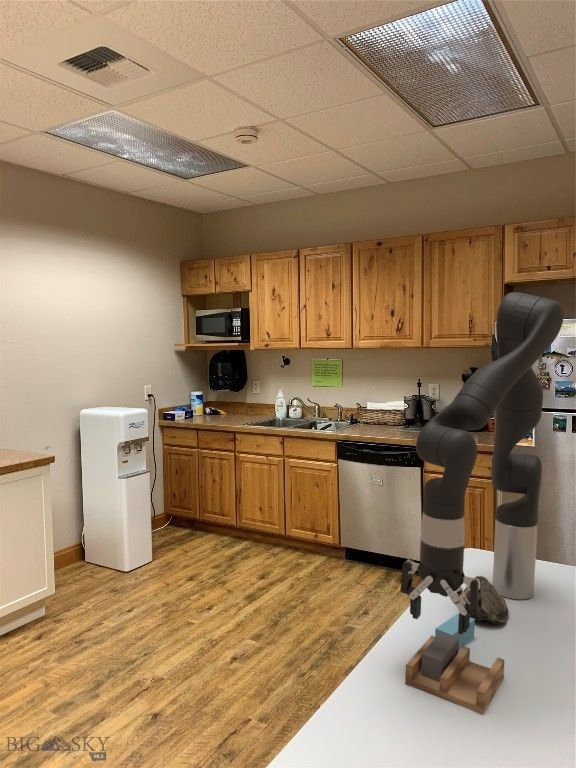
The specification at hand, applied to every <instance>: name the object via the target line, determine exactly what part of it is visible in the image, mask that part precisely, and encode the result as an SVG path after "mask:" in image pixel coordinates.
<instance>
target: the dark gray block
mask: <svg viewBox="0 0 576 768" xmlns="http://www.w3.org/2000/svg"><path fill="white" fill-rule="evenodd" d="M459 651H460V648H459V638H456V637H453V636H450V635H447V634H444V633H441V632H440V633H439V634H438V636H437V637H436V638H435V639H434V640H433V641H432V643H431V644H430V645H429V646H428V647H427V648H426V650H425V651H424V652H423V653H422V665H421V675H422V676H424V677H427V678H430V679H432V680H435V681H438V682H440V677H441V675H442V674H443V673H444V671H445V670H446V669H447V667H448V666H449V665H450V663H451V662H452V661H453V659H454V658H455V657H456V655H457V654H458V653H459Z"/></svg>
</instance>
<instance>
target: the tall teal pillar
mask: <svg viewBox="0 0 576 768" xmlns="http://www.w3.org/2000/svg"><path fill="white" fill-rule="evenodd" d="M459 614H460V612H458V613H456V614H455V615H454V616H452V617H451V618H449V619H447V620H446V621H444V622H442V623H441V624H440V625H439V626H436V627H435V630H434V631H435V633H434V637H437V636H438V634H439V633H440V632H441V633H444V634H447V635H450V636H453V637H456V638H459V649H461V648H462V647H463V646H465V644H467V643H469V642H470V641H471V640H472V639H474V638H475V629H476V628H475V627H476V626H475V624H476V620H475V619H473V618H470V626H469V628H468V630H467V631H466V632H464V633H463V635H462V634H459V633H458V622H459Z"/></svg>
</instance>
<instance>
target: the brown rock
mask: <svg viewBox="0 0 576 768" xmlns="http://www.w3.org/2000/svg"><path fill="white" fill-rule="evenodd" d="M477 576H478V577H480V578H481V580H482V609H481V610H480V611H479V612H478V614H477V615H473V614H470V618H473V619H475V621H487V622H490V623H492V624H493V625H496V626H498V625H502V624H504V623H506V622H507V619H508V618H509V614H510V613H509V608H508V605H507V602H506V600H505V597H504V596H501V595H499V594H498V593H497V591H496V589H495V588H494V586H493V585H492V583H491V582H490V581H489V579H488V578H486V577H485V576H483V575H477ZM463 590H464V592H465V594H466V598H467V600H468V601H469V603H470V591H469V590H468V589H467V586H465V588H464V589H463Z"/></svg>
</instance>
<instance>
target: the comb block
mask: <svg viewBox="0 0 576 768" xmlns="http://www.w3.org/2000/svg"><path fill="white" fill-rule="evenodd" d="M435 638H436V637H435V635H430V637H429V638H428V639H427V640H426V641H425V643H424V644H423V645H421V647H420V648H418V650H417V651H416V652H415V653H414V655H412V657H411V658H410V659H409V661H408V662H407V663H405V672H404V673H405V677H404V678H405V680H404V682H405V683H404V684H405V685H407V686H410V687H413V688H414V689H415V688H416V689H418V690H420V691H423V692H425V693H429V695H430V694H431V695H433V696H436V697H438V698H441V699H443V700H446V701H448V702H452V703H454V704H456V705H459V706H461V707H464V708H466V709H469V710H471V711H474V712H477V713H479V714H482V715H484V713H485V712H486V710H487V708H488V707H489V705H490V703H491V701H492V700H493V697H494V696H495V694H496V693H497V691H498V689H499V688H500V686H501V683H502V682H503V680H504V676H505V659H504V658H501V657H496V659H495V661H494V662H493V664H492V665H491V667H487V666H485V665H482V664H480V663H476V662H473V661H471V660H470V657H471V656H470V654H471V653H470V652H471V648H470V647H467V646H465V645H463V646H462V647H461V648H460V649H459V651H458V654H457V655H456V657H455V658H454V659H453V661H452V662H451V663H450V665H449V666H448V667H447V669H446V670H445V671H444V673H443V674H442V675H441V677H440V682H438V681H435V680H432V679H430V678H427V677H424V676H422V675H421V665H422V653H423V652H424V651H425V650H426V648H427V647H428V646H429V645H430V644H431V643H432V641H433V640H434V639H435Z"/></svg>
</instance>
